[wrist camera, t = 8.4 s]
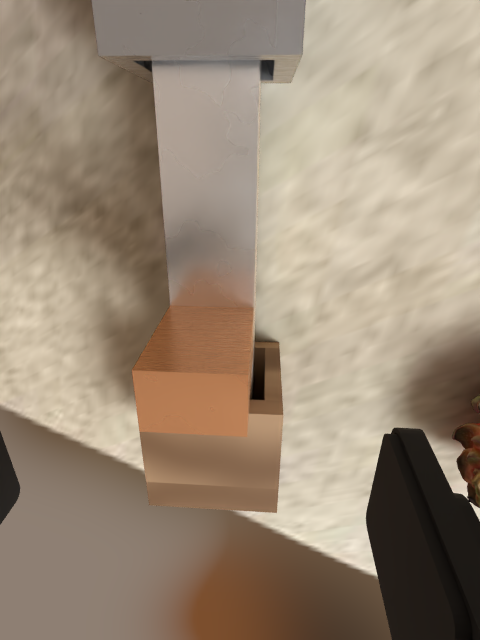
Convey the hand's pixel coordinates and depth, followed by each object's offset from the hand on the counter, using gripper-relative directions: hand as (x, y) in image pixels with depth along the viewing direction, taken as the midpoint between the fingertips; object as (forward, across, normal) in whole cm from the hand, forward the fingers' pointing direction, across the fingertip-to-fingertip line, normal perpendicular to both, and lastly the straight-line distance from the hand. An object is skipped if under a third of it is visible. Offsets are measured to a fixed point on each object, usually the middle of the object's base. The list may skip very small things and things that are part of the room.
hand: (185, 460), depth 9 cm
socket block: (+13, +1, +7) cm, 15 cm away
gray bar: (+12, +1, -4) cm, 12 cm away
